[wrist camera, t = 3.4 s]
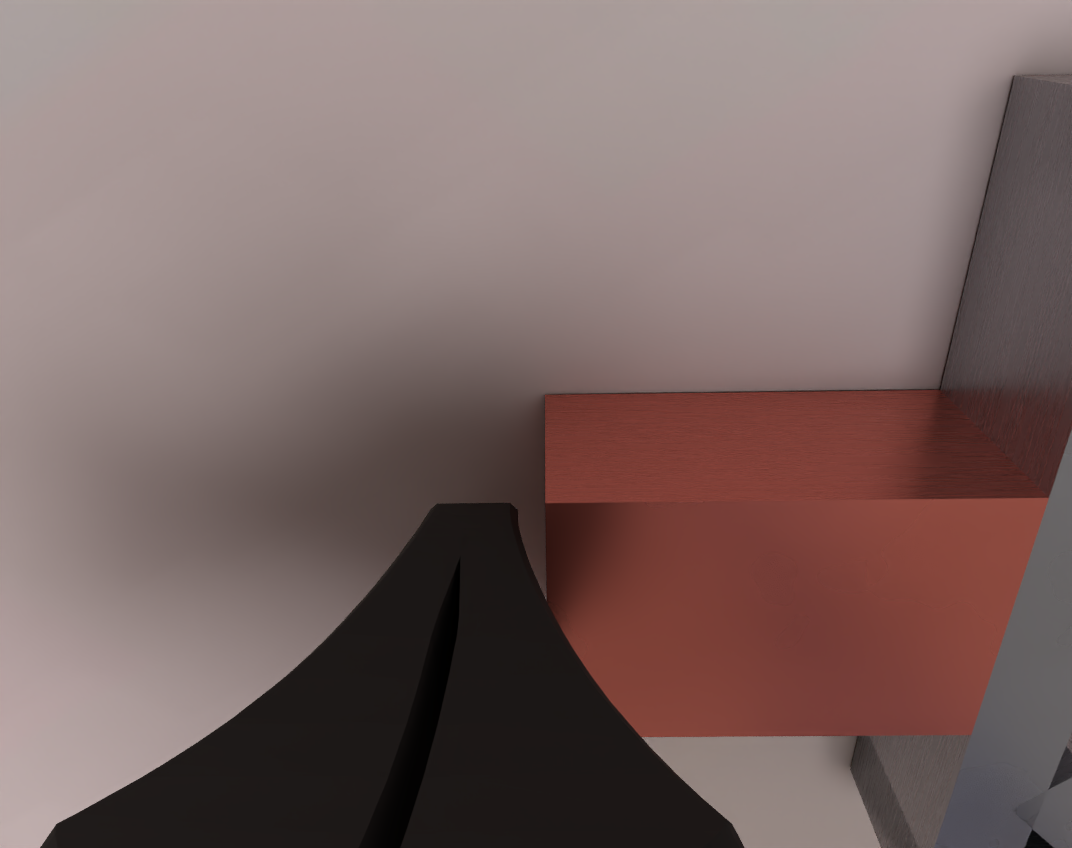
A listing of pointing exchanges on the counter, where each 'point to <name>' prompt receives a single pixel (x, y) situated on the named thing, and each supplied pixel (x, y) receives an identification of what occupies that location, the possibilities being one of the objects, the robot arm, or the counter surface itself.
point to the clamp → (859, 543)
